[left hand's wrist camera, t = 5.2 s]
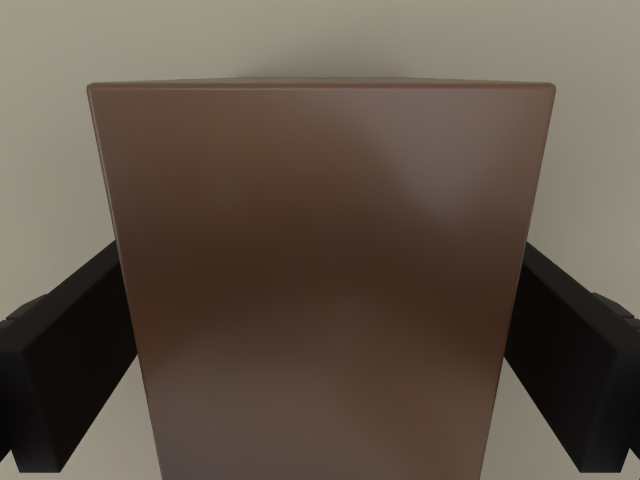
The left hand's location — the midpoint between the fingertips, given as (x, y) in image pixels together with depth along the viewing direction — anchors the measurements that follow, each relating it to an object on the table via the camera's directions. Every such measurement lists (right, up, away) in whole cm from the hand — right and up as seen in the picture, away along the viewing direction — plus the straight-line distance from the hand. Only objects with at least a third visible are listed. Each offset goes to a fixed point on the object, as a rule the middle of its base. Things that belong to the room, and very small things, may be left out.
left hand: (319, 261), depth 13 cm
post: (0, -20, +9) cm, 22 cm away
